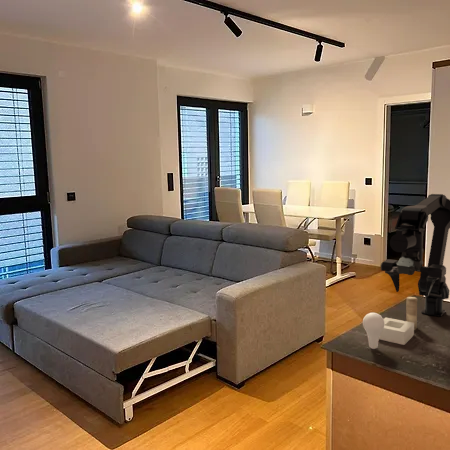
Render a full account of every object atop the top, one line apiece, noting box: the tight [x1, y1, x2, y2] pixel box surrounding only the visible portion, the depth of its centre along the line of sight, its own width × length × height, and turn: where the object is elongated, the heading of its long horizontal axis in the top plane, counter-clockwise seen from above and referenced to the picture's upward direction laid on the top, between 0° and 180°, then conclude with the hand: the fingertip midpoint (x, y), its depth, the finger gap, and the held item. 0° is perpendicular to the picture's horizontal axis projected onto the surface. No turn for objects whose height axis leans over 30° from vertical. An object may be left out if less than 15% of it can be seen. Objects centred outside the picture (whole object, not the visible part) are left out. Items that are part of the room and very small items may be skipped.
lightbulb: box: [362, 312, 385, 350], centre depth 133 cm, size 6×6×11 cm
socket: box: [379, 317, 415, 346], centre depth 141 cm, size 9×9×4 cm
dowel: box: [405, 296, 418, 331], centre depth 147 cm, size 3×3×10 cm
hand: (412, 293), depth 146 cm, fingers open, 9 cm apart
